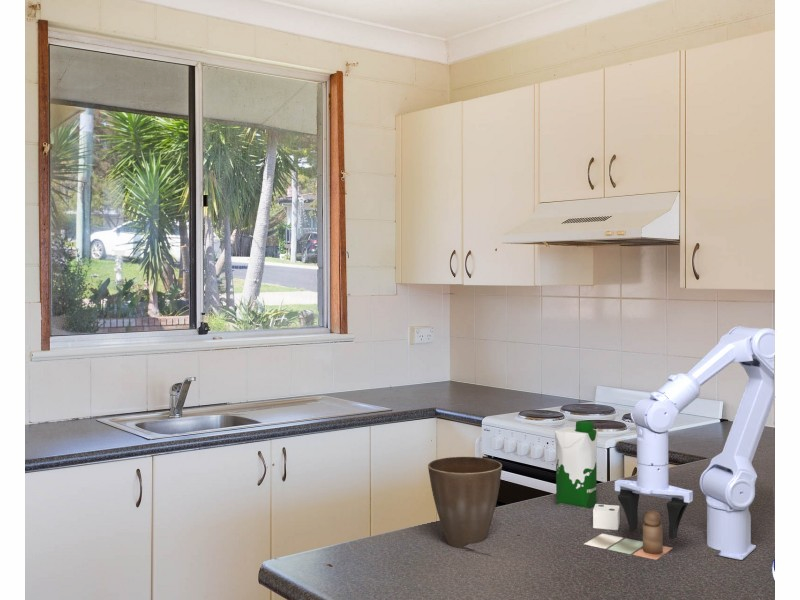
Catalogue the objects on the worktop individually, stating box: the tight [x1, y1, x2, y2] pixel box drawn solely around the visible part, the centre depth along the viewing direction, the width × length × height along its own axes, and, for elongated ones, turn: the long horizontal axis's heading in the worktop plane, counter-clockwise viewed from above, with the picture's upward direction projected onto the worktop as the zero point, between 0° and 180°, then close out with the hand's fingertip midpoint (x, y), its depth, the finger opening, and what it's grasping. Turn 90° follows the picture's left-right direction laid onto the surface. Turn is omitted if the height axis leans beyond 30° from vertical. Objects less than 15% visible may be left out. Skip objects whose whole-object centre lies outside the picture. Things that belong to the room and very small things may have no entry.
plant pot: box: [427, 456, 503, 549], centre depth 160 cm, size 15×15×16 cm
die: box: [592, 503, 621, 531], centre depth 167 cm, size 5×5×5 cm
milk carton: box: [554, 420, 599, 509], centre depth 187 cm, size 9×9×20 cm
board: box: [583, 533, 673, 560], centre depth 154 cm, size 10×15×1 cm, turn 51°
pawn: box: [642, 509, 664, 554], centre depth 151 cm, size 4×4×8 cm
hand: (652, 533), depth 151 cm, fingers open, 7 cm apart
